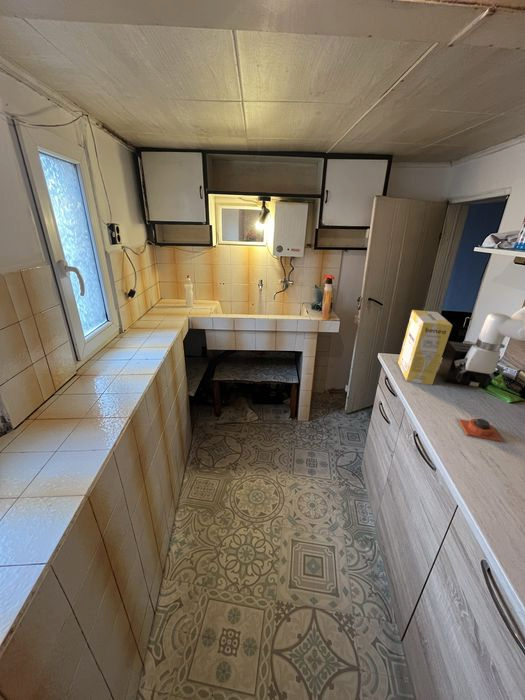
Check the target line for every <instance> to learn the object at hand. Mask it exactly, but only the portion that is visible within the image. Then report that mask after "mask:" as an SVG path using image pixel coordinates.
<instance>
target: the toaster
mask: <svg viewBox="0 0 525 700" xmlns="http://www.w3.org/2000/svg"><path fill="white" fill-rule="evenodd" d="M472 345H474V344H466V343H463V342H460V341H459V342H458V341H449V340H447V343H446V346H445V349H444V352H443V355H442V358H441V361H440V364H439V367H438V369H437V372H438V373H439V375H440V376H441V378H442V380H443V381H444V383H446V384H447V383H448V384H455V385H460V386H467V387H472V388H473V387H474V388H480V389H488V387H486V386H485V385H484V384H483V381H484V379H485V376H486V375H488V374H487V373H480V372H474V371H469V370H468V371H466V372H464V373H463V374H464V376H463V379H462V381H461V382H458V380H457V379H456V376H457V374H458V370H457V368H456V367H455V361H457V360H461V359H464V358H465V356H466V354H467V353H468V351H469V349H470V348H471V347H472ZM500 359H501V355H500V356H499V360H500ZM459 366H460V367H462V366H463V365H462V364H459ZM466 375H471V376H474V377H475V378H476V379H477V381H478V382H479V385H478V387H477V386H471V385H469V384H468V382H467V381H466V380H465V376H466Z"/></svg>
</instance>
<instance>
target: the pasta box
mask: <svg viewBox="0 0 525 700" xmlns="http://www.w3.org/2000/svg"><path fill="white" fill-rule="evenodd" d="M452 328H453V324H452V323H451V322H450V321H448V319H446V317H444V316H442V314H440V313H439V312H438V311H431V310H430V311H428V310H420V309H419V310H418V309H412V310H411V313H410V317H409V321H408V323H407V327H406V331H405V335H404V339H403V342H402V347H401V350H400V353H399V357H398V361H397V364H398V366H399V369H400V370H401V373H402V375H403V377H404V380H405V381H406V382H410V383H418V384H423V385H424V384H425V385H432V386H433V383H434V381H435V379H436V375H437V372H438V370H439V367H440V364H441V361H442V358H443V355H444V353H445V350H446V347H447V344H448V341H449V337H450V334H451V331H452Z"/></svg>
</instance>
